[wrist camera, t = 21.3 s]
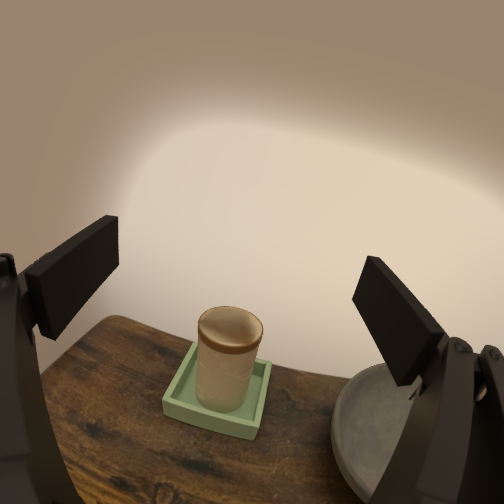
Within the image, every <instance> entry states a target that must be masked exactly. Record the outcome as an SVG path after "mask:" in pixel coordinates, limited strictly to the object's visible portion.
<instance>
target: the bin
mask: <svg viewBox="0 0 504 504" xmlns="http://www.w3.org/2000/svg"><path fill="white" fill-rule="evenodd" d="M197 349H198V343H197V342H193V344H192V346H191V348H190V349H189V351H188V353H187V355H186V357H185V358H184V360H183V362H182V364H181V366H180V367H179V369H178V371H177V373H176V375H175V376H174V378H173V380H172V382H171V384H170V386H169V387H168V389H167V391H166V393H165V395H164V396H163V398H162V404H163V412H164V415H166V416H168V417H171V418H174V419H177V420H180V421H182V422H185V423H188V424H192V425H195V426H198V427H201V428H204V429H208V430H211V431H215V432H218V433H222V434H226V435H230V436H234V437H238V438H242V439H247V440H251V441H254V439H255V437H256V434H257V432H258V429H259V427H260V422H261V417H262V412H263V407H264V402H265V397H266V392H267V387H268V382H269V376H270V371H271V366H272V362H270V361H266V360H262V359H257V358H256V359H255V363H254V366H253V370H252V374H251V378H250V382H249V386H248V389H247V393H246V397H245V400H244V403H243V404H242V406H241V407H240V408H238V409H237V410H235V411H232V412H229V413H218V412H214V411H211V410H208V409H206V408H204V407H203V406H202V405H201V404H200V403H199V402H198V400H197V398H196V395H195V386H196V366H197Z"/></svg>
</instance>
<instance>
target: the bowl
mask: <svg viewBox="0 0 504 504" xmlns="http://www.w3.org/2000/svg"><path fill="white" fill-rule="evenodd" d="M421 382H422V379H421V377H420V375H418V377H417V378H416V379H415V381H414V382H413V384H412V385H409V386H400V387H397V385H396V383H395V381H394V379H393V377H392V375H391V373H390V371H389V369H388V367H387V365H386V363H382V364H377V365H374V366H371V367H369V368H367V369H365V370H363V371H361V372H359V373H358V374H357V375H355V376H354V377H353V378H351V379H350V380H349V382H348V383H347V384H346V385H345V386H344V387H343V389H342V390H341V392H340V394H339V396H338V398H337V400H336V403H335V406H334V410H333V415H332V420H331V443H332V449H333V453H334V456H335V460H336V463H337V465H338V467H339V470H340V472H341V473H342V475H343V477H344V479H345V480H346V482H347V483H348V485H349V486H350V487H351V489H352V490H353V491H354V492H355V493H356V495H357V496H358V497H359V498H360V499H361V500H362V501H363V502H364V503H365V504H367V503H368V501H369V499H370V498H371V496H372V494H373V492H374V491H375V489H376V487H377V485H378V483H379V481H380V479H381V477H382V475H383V474H384V472H385V470H386V467H387V465H388V463H389V461H390V459H391V457H392V455H393V452H394V450H395V448H396V446H397V443H398V441H399V438H400V436H401V434H402V431H403V428H404V426H405V423H406V421H407V418H408V415H409V412H410V409H411V406H412V403H413V400H414V397H413V398H412V399H411V400H409V398H410V396H411V395H412V394H413V392H414V391H415V390H416V388H417V387H418V386H419V384H420V383H421Z"/></svg>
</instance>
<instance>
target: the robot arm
mask: <svg viewBox="0 0 504 504" xmlns="http://www.w3.org/2000/svg"><path fill="white" fill-rule="evenodd" d="M118 253H119V250H118V217H117V216H109V215H105V216H103V217H102V218H100V219H99V220H97V221H95V222H94V223H92V224H91V225H89V226H88V227H86V228H85V229H83V230H82V231H80V232H79V233H77V234H75V235H74V236H72V237H71V238H70V239H68V240H67V241H65V242H64V243H62V244H61V245H60V246H58V247H57V248H55V249H54V250H52V251H51V252H49V253H46V254H45V255H43V256H42V257H40V258H39V260H36V261H35V262H34V263H33V264H31V265H30V266H28V267H27V268H26V269H25V270H23V271H22V272H21V273H19V274H18V275H17V273H16V268H15V263H14V258H13V255H11V254H8V253H1V254H0V504H85V503H84V501H83V500H82V499H81V497H80V496H79V495H78V493H77V491H76V489H75V487H74V485H73V483H72V481H71V478H70V476H69V474H68V471H67V469H66V466H65V464H64V461H63V459H62V456H61V453H60V450H59V447H58V444H57V441H56V438H55V435H54V432H53V429H52V425H51V422H50V418H49V414H48V410H47V406H46V402H45V398H44V393H43V389H42V383H41V378H40V373H39V367H38V360H37V352H36V344H35V336H34V333H33V330H32V328H33V327H34V326H35V325H36V324H38V327H39V330H40V333H41V335H42V336H44V337H47V338H49V339H52V340H54V341H56V339H57V338H58V337H59V335H60V334H61V333H62V332H63V330H64V329H65V328H66V326H67V325H68V324H69V323H70V321H71V320H72V319H73V318H74V316H75V315H76V314H77V313H78V311H79V310H80V309H81V308H82V307H83V305H84V304H85V303H86V302H87V301H88V299H89V298H90V297H91V296H92V295H93V294H94V292H95V291H96V290H97V289H98V288H99V286H100V285H101V284H102V283H103V282H104V281H105V280H106V279H107V277H108V276H109V275H110V274H111V273H112V272H113V271H114V270H115V269H116V268H117V267H118V265H119V254H118ZM352 301H353V302H354V304H355V306H356V307H357V309H358V311H359V313H360V315H361V317H362V318H363V320H364V322H365V324H366V326H367V328H368V330H369V332H370V334H371V335H372V337H373V339H374V341H375V343H376V345H377V347H378V349H379V351H380V353H381V354H382V357H383V359H384V361H385V363H386V365H387V367H388V369H389V371H390V373H391V375H392V377H393V379H394V381H395V383H396V385H397V387H400V386H409V385H412V384H413V382H414V381H415V379H416V378H417V377H418V375H420V377H421V379H422V382H421V383H420V384H419V386H418V387H417V388H416V390H415V391H414V392H413V394H412V395H411V396H410V398H409V400H411V399H412V398H413V397H414V400H413V403H412V406H411V409H410V412H409V415H408V418H407V421H406V423H405V426H404V428H403V431H402V434H401V436H400V438H399V441H398V443H397V446H396V448H395V450H394V452H393V455H392V457H391V459H390V461H389V463H388V465H387V467H386V470H385V472H384V474H383V475H382V477H381V479H380V481H379V483H378V485H377V487H376V489H375V491H374V492H373V494H372V496H371V498H370V499H369V501H368V503H367V504H504V356H503V355H502V353H501V352H500V350H499V349H498V348H496V347H493V346H491V345H485V346H484V348H483V350H482V351H481V353H480V354H477V353H473V349H472V347H471V346H470V345H469V344H468V343H467V342H466V341H464V340H462V339H460V338H457V337H451V338H450V337H449V336H448V335H447V333H446V332H445V331H444V330H443V328H442V327H441V326H440V325H439V324H438V323H437V322H436V320H435V319H434V317H432V315H431V314H430V313H429V311H428V310H427V309H426V308H424V306H423V305H422V304H421V303H420V302H419V301H418V299H417V298H416V297H415V296H414V295H413V294H412V292H411V291H410V290H409V289H408V288H407V287H406V286H405V285H404V284H403V282H402V281H401V280H400V279H399V278H398V277H397V276H396V275H395V274H394V273H393V271H392V270H391V269H390V268H389V267H388V266H387V265H386V264H385V263H384V262H383V261H382V260H381V259H380V258H379V257H374V256H367V259H366V262H365V265H364V267H363V270H362V273H361V276H360V279H359V282H358V284H357V287H356V290H355V293H354V295H353V298H352ZM485 388H487V391H486V394H485V396H484V397H483V398H482V399H481V400H479V395H480V394H481V393H482V391H483V390H484V389H485Z"/></svg>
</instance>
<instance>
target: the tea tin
mask: <svg viewBox="0 0 504 504" xmlns="http://www.w3.org/2000/svg"><path fill="white" fill-rule="evenodd" d="M262 335H263V326H262V323H261V322H260V320H259V319H258V318H257V317H256V316H255V315H253V314H252V313H250V312H248V311H246V310H243V309H240V308H236V307H229V306H222V307H215V308H211V309H209V310H207V311H205V312H204V313H203V314H202V315H201V316H200V318H199V321H198V349H197V366H196V386H195V395H196V398H197V400H198V402H199V403H200V404H201V405H202V406H203V407H204V408H206V409H208V410H211V411H214V412H218V413H229V412H232V411H235V410H237V409H238V408H240V407H241V406H242V404H243V403H244V400H245V397H246V393H247V389H248V386H249V382H250V378H251V374H252V370H253V366H254V363H255V359H256V355H257V351H258V347H259V344H260V342H261V339H262Z"/></svg>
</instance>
